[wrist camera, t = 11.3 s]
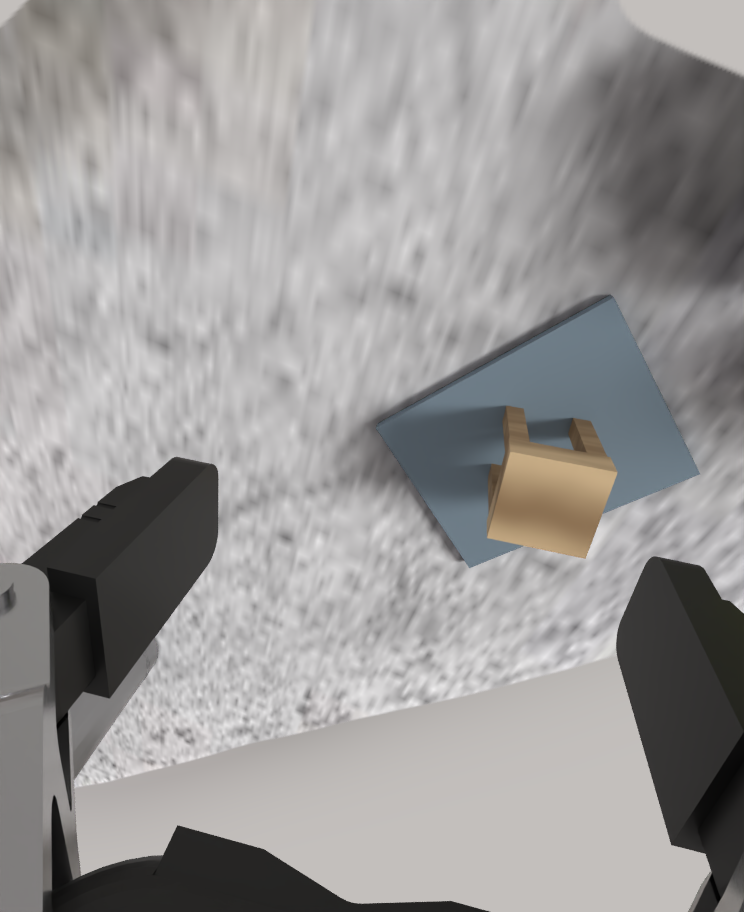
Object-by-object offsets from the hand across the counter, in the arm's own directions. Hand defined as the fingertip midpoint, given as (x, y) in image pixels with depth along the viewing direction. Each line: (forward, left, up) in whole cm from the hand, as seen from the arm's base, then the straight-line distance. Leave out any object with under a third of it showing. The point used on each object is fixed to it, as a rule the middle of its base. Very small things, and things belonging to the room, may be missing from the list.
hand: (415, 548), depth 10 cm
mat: (+7, -10, -30) cm, 32 cm away
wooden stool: (+7, -10, -29) cm, 32 cm away
